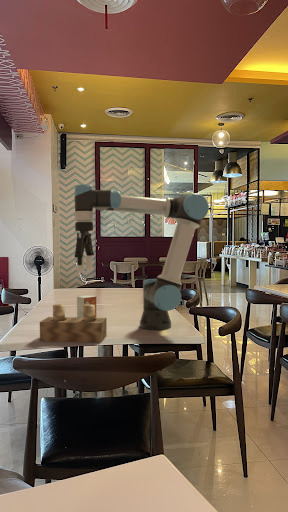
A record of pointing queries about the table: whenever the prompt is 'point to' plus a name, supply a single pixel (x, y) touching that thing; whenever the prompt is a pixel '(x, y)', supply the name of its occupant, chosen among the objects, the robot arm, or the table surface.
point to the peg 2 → (89, 313)
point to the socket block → (73, 330)
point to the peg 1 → (59, 312)
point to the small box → (85, 303)
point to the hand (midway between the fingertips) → (84, 271)
